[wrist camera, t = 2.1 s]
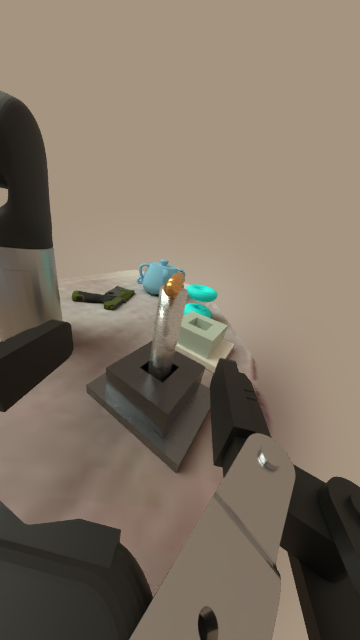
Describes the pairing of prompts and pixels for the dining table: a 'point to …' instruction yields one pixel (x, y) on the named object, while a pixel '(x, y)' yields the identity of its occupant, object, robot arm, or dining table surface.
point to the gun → (105, 297)
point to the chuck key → (167, 326)
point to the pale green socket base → (203, 340)
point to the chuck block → (155, 402)
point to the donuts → (200, 299)
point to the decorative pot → (157, 276)
